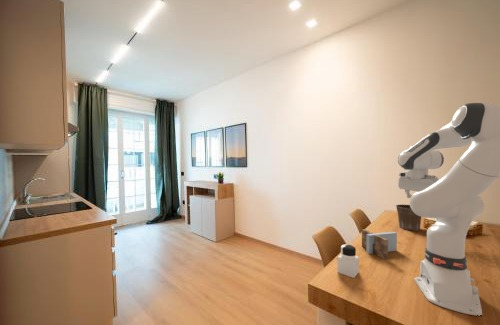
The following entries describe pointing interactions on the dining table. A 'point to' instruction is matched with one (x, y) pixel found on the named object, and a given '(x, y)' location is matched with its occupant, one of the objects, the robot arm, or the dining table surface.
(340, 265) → the medicine bottle
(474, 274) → the dining table surface
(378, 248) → the walnut board
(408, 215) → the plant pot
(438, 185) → the robot arm
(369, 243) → the light blue notched panel
